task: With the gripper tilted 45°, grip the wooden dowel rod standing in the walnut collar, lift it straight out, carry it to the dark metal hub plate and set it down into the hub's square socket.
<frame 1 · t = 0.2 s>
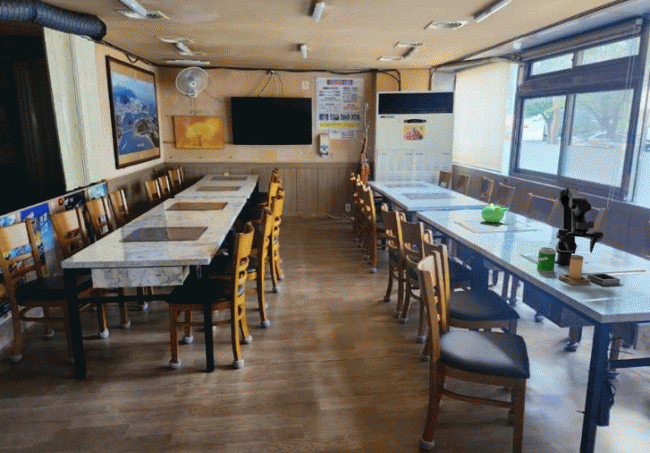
hand: (579, 251, 207), 14 cm above the table, tool tilted 35°, fingers open, 9 cm apart
toy bird: (492, 222, 348), on the table
soda can: (544, 272, 223), on the table
stand: (573, 283, 206), on the table
hub: (602, 283, 206), on the table
wooden dowel rod: (573, 281, 206), point 1 cm above the table, touching stand
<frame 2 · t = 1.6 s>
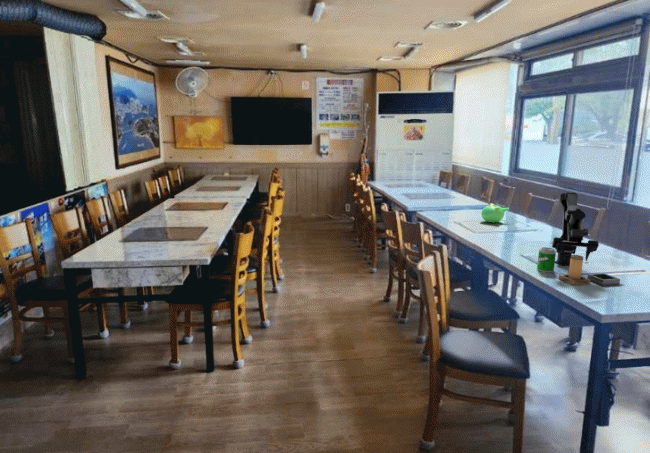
hand: (575, 259, 207), 11 cm above the table, tool tilted 45°, fingers open, 9 cm apart
nothing on the table moved.
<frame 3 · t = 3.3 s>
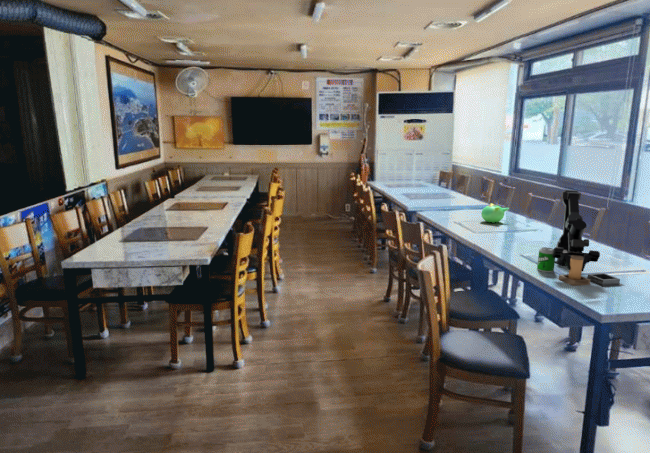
hand: (576, 270, 203), 7 cm above the table, tool tilted 45°, fingers closed on wooden dowel rod, 5 cm apart
wooden dowel rod: (573, 281, 206), point 1 cm above the table, touching gripper, stand
everything else where it was.
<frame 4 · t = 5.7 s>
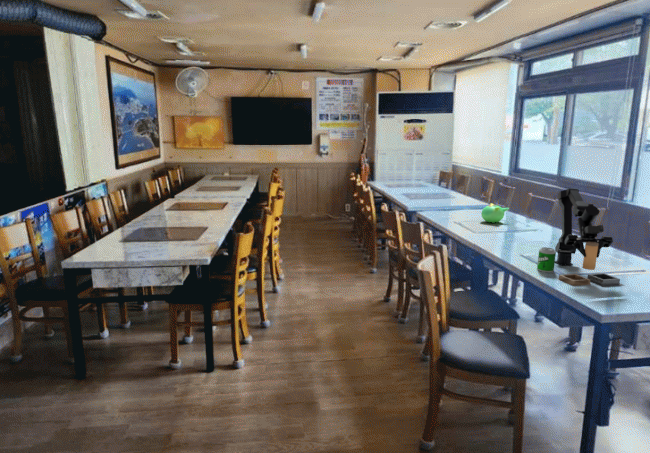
hand: (591, 256, 201), 13 cm above the table, tool tilted 45°, fingers closed on wooden dowel rod, 5 cm apart
wooden dowel rod: (588, 268, 204), point 8 cm above the table, touching gripper
everything else where it was.
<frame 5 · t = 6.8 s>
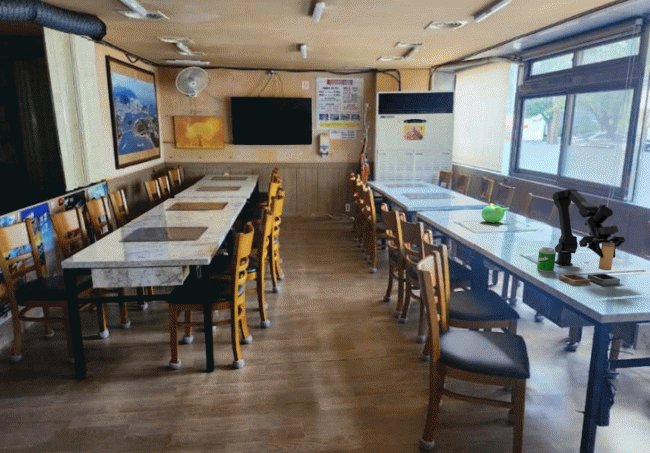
hand: (608, 257, 202), 13 cm above the table, tool tilted 45°, fingers closed on wooden dowel rod, 5 cm apart
wooden dowel rod: (604, 268, 204), point 7 cm above the table, touching gripper
everything else where it was.
when the fingers open (9 cm above the table, at t = 7.9 s): wooden dowel rod drops 3 cm, resting on hub.
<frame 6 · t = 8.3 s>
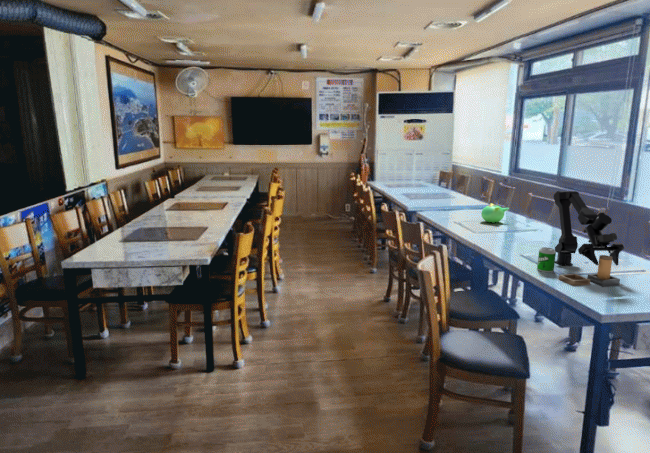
hand: (607, 265, 203), 9 cm above the table, tool tilted 45°, fingers open, 9 cm apart
wooden dowel rod: (602, 281, 206), point 1 cm above the table, touching hub
everything else where it was.
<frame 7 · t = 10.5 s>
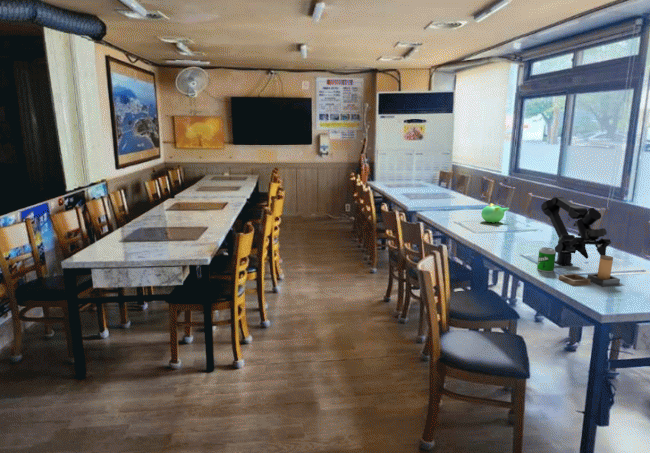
hand: (595, 258, 212), 10 cm above the table, tool tilted 40°, fingers open, 9 cm apart
nothing on the table moved.
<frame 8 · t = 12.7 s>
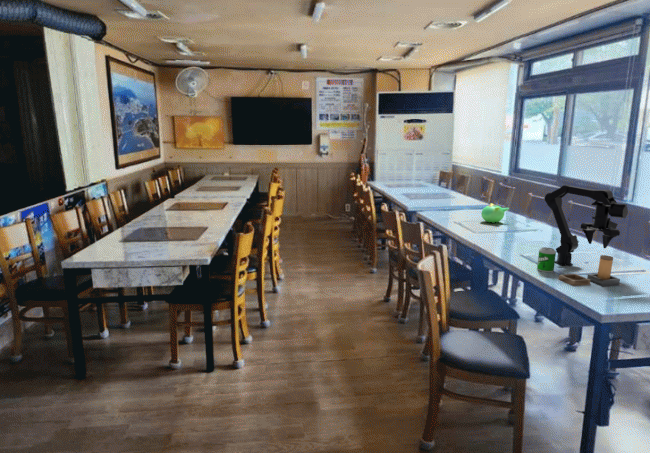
hand: (597, 245, 223), 13 cm above the table, tool pointing down, fingers open, 9 cm apart
nothing on the table moved.
at the end: wooden dowel rod 0.1 cm off-centre on the hub, point 1.0 cm above the hub's base; wooden dowel rod tilted 1°; the gripper is holding nothing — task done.
